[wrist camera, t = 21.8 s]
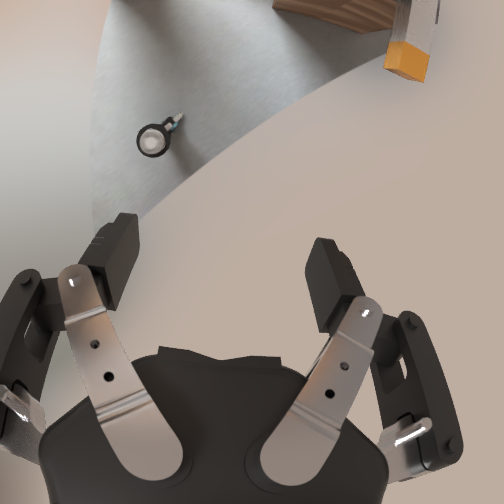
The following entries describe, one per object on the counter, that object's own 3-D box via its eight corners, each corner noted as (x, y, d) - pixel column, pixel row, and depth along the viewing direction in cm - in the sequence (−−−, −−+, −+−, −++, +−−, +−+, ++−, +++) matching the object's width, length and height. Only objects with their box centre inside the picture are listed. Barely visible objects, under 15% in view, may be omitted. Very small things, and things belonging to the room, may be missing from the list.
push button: (172, 103, 40) (156, 111, 32) (193, 123, 43) (181, 136, 35) (147, 129, 42) (127, 143, 35) (167, 147, 45) (151, 166, 37)
